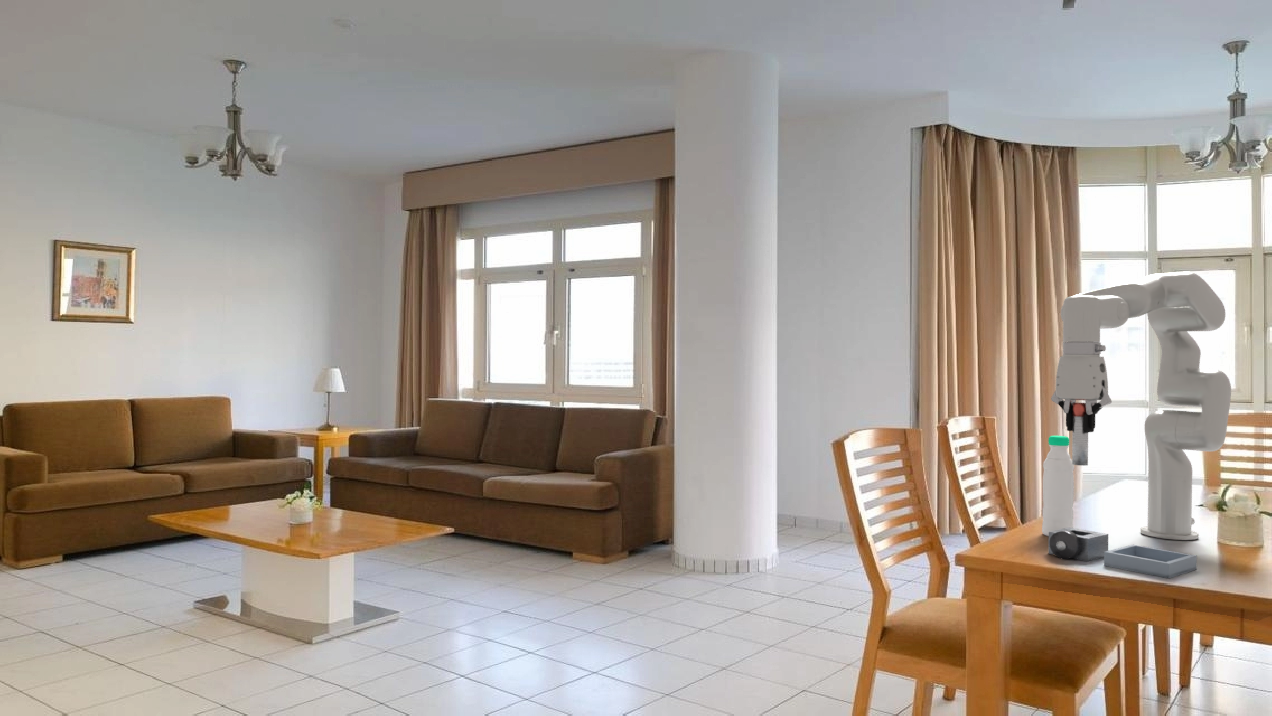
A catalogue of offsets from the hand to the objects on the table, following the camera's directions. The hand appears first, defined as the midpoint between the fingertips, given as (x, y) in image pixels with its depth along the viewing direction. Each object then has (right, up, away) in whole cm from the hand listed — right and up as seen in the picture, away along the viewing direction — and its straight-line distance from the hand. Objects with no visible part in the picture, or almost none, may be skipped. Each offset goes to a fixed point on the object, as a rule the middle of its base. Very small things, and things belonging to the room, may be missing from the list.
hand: (1080, 430), depth 202 cm
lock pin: (0, -8, 0) cm, 8 cm away
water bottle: (+5, -28, +21) cm, 36 cm away
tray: (+9, -28, -11) cm, 32 cm away
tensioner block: (-2, -28, -1) cm, 28 cm away
